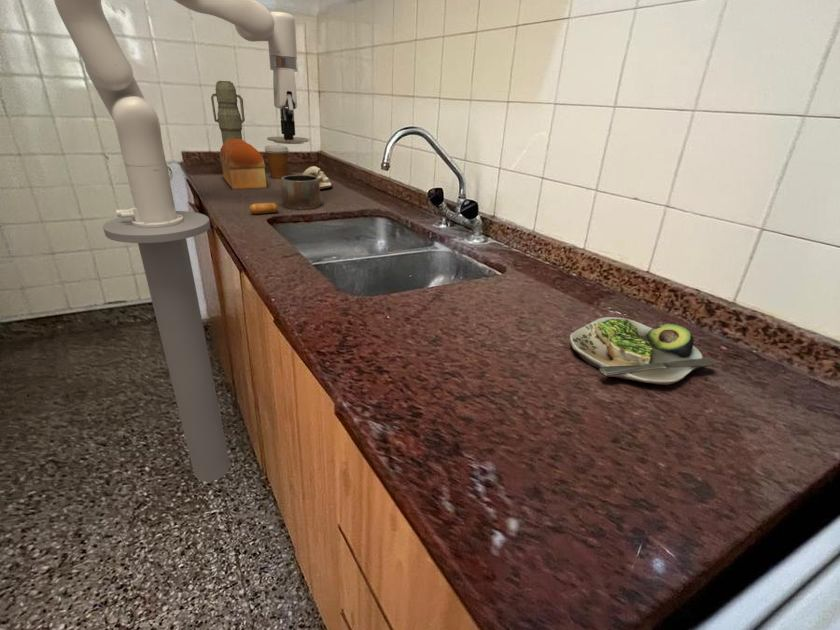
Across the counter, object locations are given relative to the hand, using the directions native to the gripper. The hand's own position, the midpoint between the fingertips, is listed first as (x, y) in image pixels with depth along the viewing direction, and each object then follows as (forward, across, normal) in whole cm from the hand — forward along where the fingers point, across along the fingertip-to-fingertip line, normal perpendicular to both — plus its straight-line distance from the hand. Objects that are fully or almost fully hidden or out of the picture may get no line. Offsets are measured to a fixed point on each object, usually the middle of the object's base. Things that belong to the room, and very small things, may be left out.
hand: (288, 134), depth 135 cm
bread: (+22, -44, -9) cm, 50 cm away
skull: (+21, -27, +15) cm, 37 cm away
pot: (+21, 0, +3) cm, 21 cm away
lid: (+2, 0, 0) cm, 2 cm away
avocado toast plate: (+21, +110, +27) cm, 115 cm away
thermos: (+21, -67, -9) cm, 71 cm away
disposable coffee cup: (+21, -53, +6) cm, 57 cm away
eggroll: (+21, +8, -10) cm, 25 cm away
